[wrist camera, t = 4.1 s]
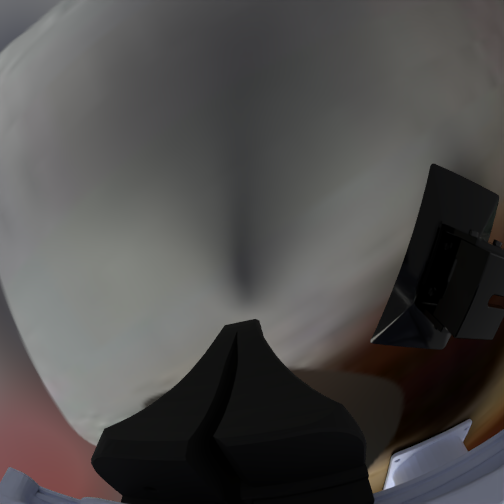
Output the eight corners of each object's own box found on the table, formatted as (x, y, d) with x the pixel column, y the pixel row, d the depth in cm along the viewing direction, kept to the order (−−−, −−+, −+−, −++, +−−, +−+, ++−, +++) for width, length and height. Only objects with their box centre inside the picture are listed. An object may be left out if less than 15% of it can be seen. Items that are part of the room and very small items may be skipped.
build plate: (436, 361, 15) (469, 408, 11) (339, 356, 15) (363, 419, 10) (505, 172, 11) (564, 186, 7) (412, 121, 11) (477, 113, 7)
